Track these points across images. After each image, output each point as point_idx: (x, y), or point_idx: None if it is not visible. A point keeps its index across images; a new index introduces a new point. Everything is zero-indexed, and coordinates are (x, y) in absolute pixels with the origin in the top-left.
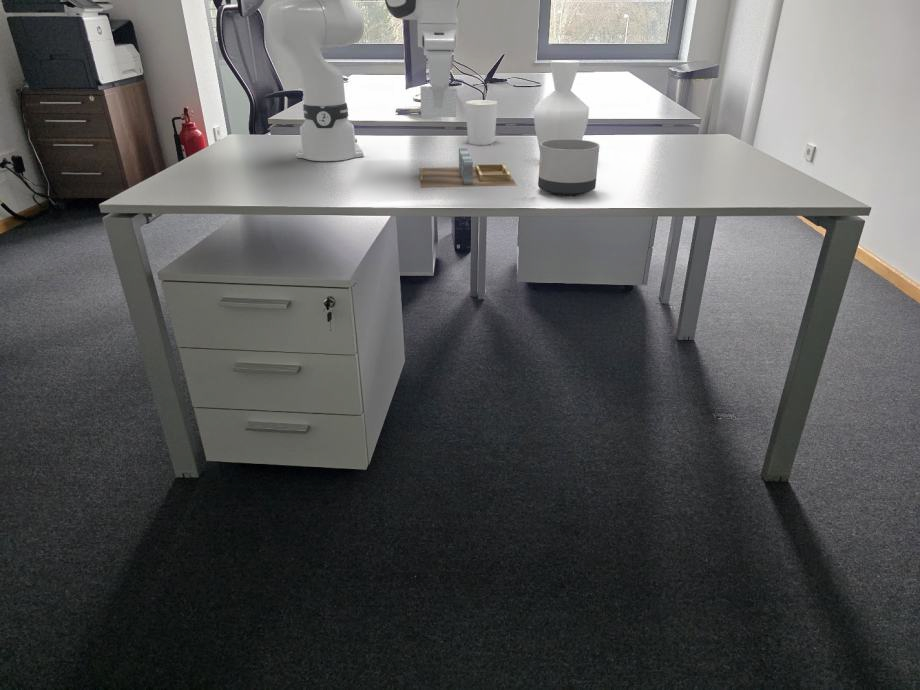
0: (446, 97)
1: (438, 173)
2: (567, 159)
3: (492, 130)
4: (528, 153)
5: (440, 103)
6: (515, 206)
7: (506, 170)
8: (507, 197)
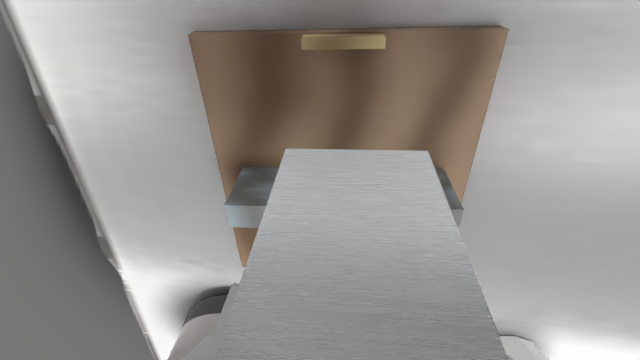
0: None
1: (391, 102)
2: None
3: None
4: (620, 328)
5: None
6: (120, 238)
7: None
8: (186, 235)
